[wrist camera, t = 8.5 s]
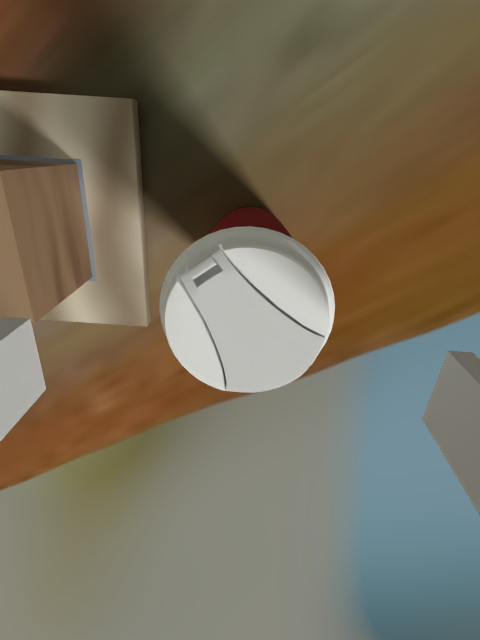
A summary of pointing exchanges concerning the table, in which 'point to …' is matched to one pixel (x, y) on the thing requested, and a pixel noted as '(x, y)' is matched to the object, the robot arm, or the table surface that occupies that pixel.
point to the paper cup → (247, 305)
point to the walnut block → (40, 237)
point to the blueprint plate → (91, 193)
